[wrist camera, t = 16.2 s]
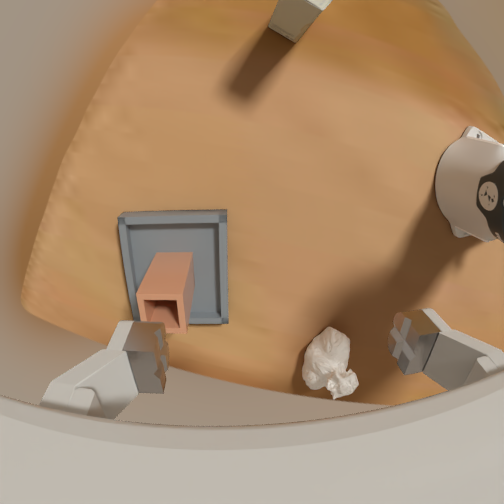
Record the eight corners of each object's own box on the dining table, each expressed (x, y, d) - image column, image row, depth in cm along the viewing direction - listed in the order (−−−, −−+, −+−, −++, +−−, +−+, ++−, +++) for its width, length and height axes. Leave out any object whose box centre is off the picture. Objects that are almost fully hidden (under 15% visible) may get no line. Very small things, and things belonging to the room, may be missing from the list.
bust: (306, 364, 55) (350, 402, 48) (280, 376, 49) (328, 420, 43) (336, 313, 51) (387, 352, 44) (312, 322, 45) (369, 368, 38)
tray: (226, 209, 40) (226, 214, 38) (228, 313, 46) (228, 323, 44) (123, 212, 39) (117, 217, 37) (138, 313, 45) (134, 322, 43)
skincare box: (295, 44, 32) (323, 14, 21) (265, 26, 31) (281, -11, 20) (320, 12, 31) (353, -23, 19) (291, -5, 29) (315, -47, 18)
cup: (192, 252, 41) (182, 294, 31) (195, 285, 43) (187, 333, 33) (156, 252, 41) (136, 293, 31) (160, 285, 43) (143, 332, 32)
